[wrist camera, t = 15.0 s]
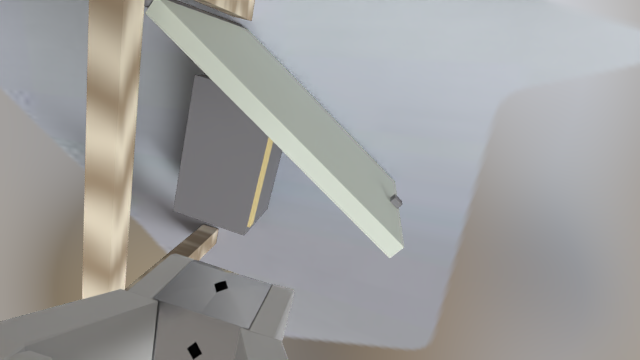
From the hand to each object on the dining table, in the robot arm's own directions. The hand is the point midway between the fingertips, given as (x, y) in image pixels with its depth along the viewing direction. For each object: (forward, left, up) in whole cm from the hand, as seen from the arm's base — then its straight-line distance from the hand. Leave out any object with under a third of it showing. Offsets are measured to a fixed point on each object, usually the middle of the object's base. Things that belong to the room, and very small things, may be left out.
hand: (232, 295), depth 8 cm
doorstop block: (+7, -12, -37) cm, 40 cm away
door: (0, -5, -37) cm, 37 cm away
